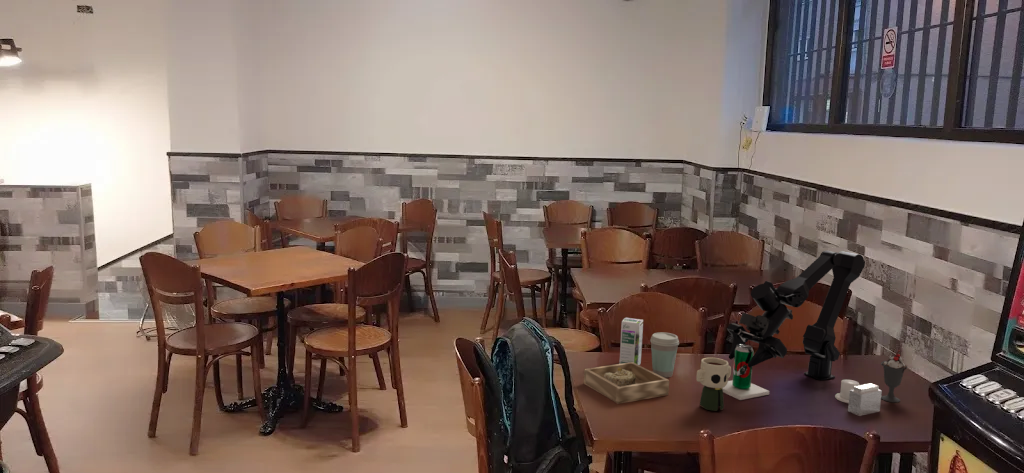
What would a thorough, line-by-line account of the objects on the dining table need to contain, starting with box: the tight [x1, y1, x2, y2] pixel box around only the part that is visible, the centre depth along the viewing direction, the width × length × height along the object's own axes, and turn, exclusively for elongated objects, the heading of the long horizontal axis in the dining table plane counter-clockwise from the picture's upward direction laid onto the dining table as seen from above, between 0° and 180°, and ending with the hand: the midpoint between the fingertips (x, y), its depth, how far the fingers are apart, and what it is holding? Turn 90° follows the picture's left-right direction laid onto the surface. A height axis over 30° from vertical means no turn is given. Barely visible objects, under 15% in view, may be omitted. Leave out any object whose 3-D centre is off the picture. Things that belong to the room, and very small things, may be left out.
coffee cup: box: [650, 332, 680, 379], centre depth 227 cm, size 8×8×12 cm
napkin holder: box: [847, 382, 883, 417], centre depth 203 cm, size 8×4×7 cm, turn 117°
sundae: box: [880, 349, 908, 404], centre depth 212 cm, size 7×7×15 cm
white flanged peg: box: [834, 379, 860, 404], centre depth 212 cm, size 7×7×5 cm
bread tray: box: [583, 362, 670, 405], centre depth 214 cm, size 17×17×4 cm
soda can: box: [732, 344, 754, 390], centre depth 215 cm, size 5×5×12 cm
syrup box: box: [618, 317, 644, 366], centre depth 235 cm, size 6×6×14 cm
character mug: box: [695, 357, 732, 412], centre depth 201 cm, size 11×7×13 cm, turn 113°
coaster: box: [722, 379, 770, 401], centre depth 216 cm, size 11×11×1 cm
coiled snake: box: [604, 368, 636, 387], centre depth 215 cm, size 10×10×5 cm
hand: (739, 362), depth 214 cm, fingers open, 7 cm apart
